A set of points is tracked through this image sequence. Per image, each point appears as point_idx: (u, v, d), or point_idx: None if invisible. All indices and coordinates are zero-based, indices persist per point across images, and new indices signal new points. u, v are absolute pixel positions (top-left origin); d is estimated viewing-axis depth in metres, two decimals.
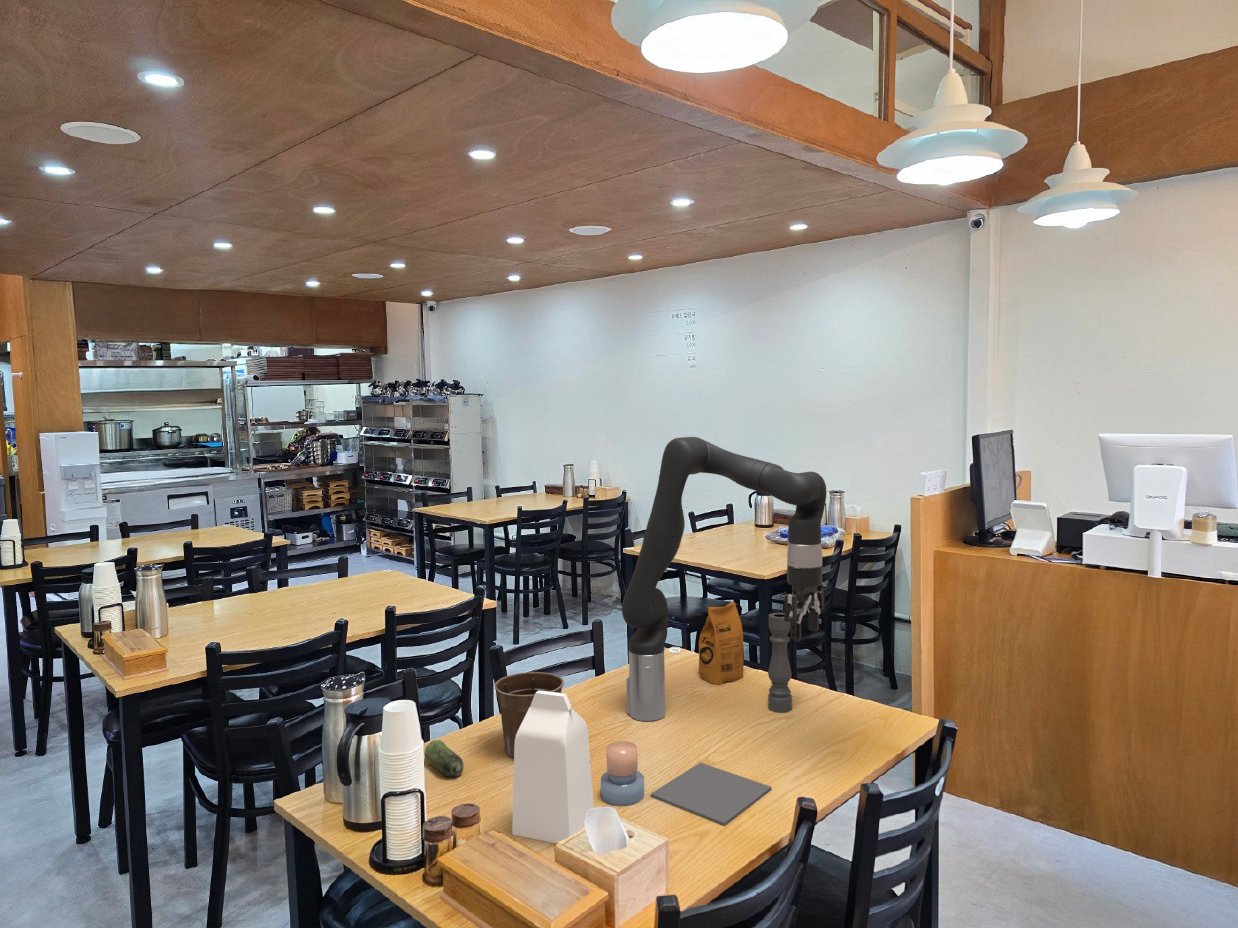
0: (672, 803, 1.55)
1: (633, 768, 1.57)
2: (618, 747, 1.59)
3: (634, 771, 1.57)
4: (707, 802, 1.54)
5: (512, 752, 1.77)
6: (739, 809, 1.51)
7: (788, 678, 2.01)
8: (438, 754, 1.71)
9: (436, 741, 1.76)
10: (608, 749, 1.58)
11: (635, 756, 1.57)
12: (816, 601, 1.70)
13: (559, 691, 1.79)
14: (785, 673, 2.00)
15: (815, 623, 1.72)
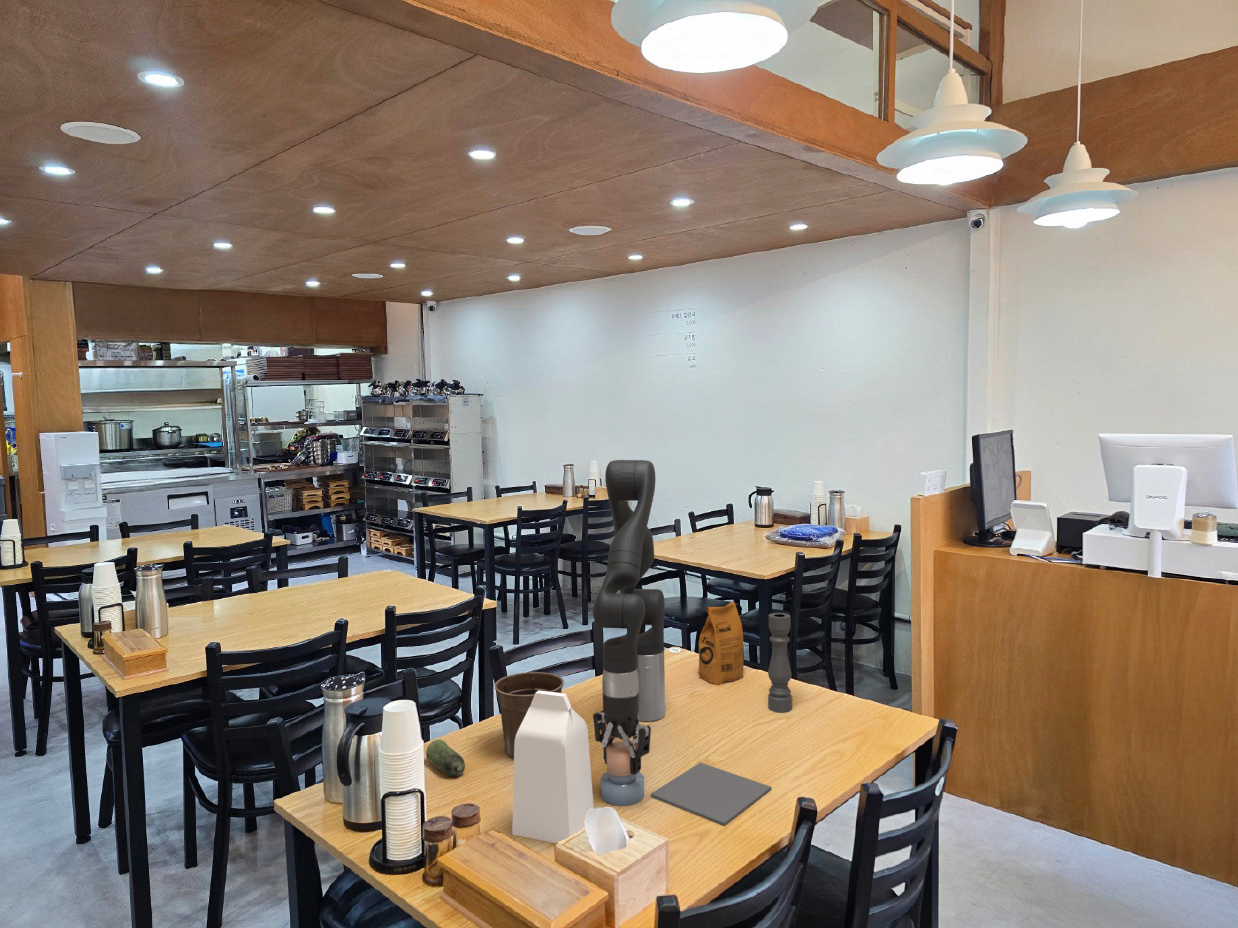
0: (672, 803, 1.55)
1: None
2: (618, 747, 1.59)
3: None
4: (707, 802, 1.54)
5: (512, 752, 1.77)
6: (739, 809, 1.51)
7: (788, 678, 2.01)
8: (440, 753, 1.71)
9: (438, 741, 1.76)
10: (608, 749, 1.58)
11: None
12: None
13: (559, 691, 1.79)
14: (785, 673, 2.00)
15: None
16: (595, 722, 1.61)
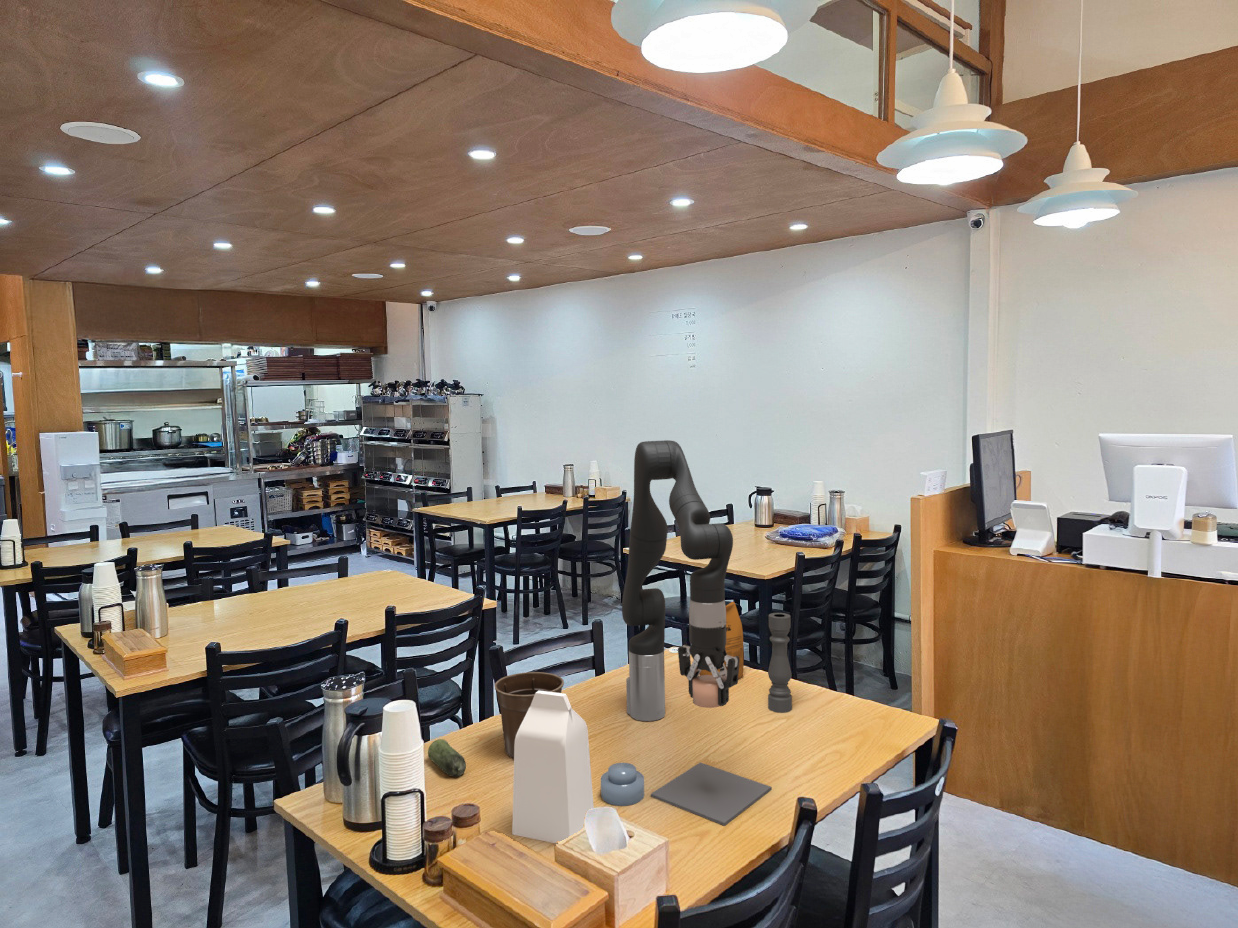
0: (672, 803, 1.55)
1: None
2: (705, 680, 1.58)
3: None
4: (707, 802, 1.54)
5: (512, 752, 1.77)
6: (739, 809, 1.51)
7: (788, 678, 2.01)
8: (441, 753, 1.71)
9: (439, 740, 1.76)
10: (695, 681, 1.57)
11: None
12: None
13: (559, 691, 1.79)
14: (785, 673, 2.00)
15: None
16: (680, 655, 1.60)
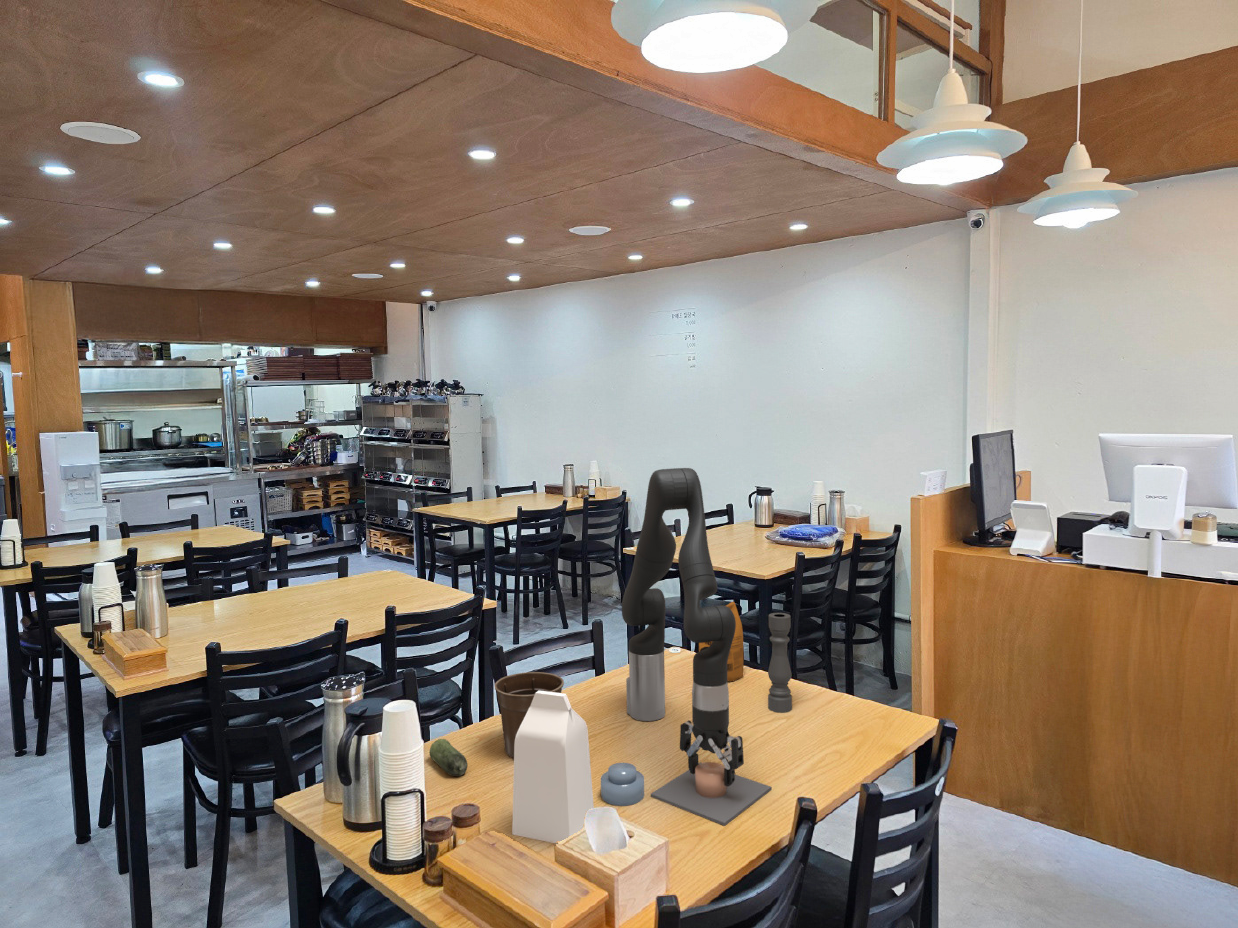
0: (672, 803, 1.55)
1: (723, 789, 1.57)
2: (707, 769, 1.59)
3: (724, 792, 1.57)
4: (707, 802, 1.54)
5: (512, 752, 1.77)
6: (739, 809, 1.51)
7: (788, 678, 2.01)
8: (442, 753, 1.71)
9: (441, 740, 1.76)
10: (697, 770, 1.58)
11: None
12: None
13: (559, 691, 1.79)
14: (785, 673, 2.00)
15: (697, 763, 1.62)
16: (682, 732, 1.62)
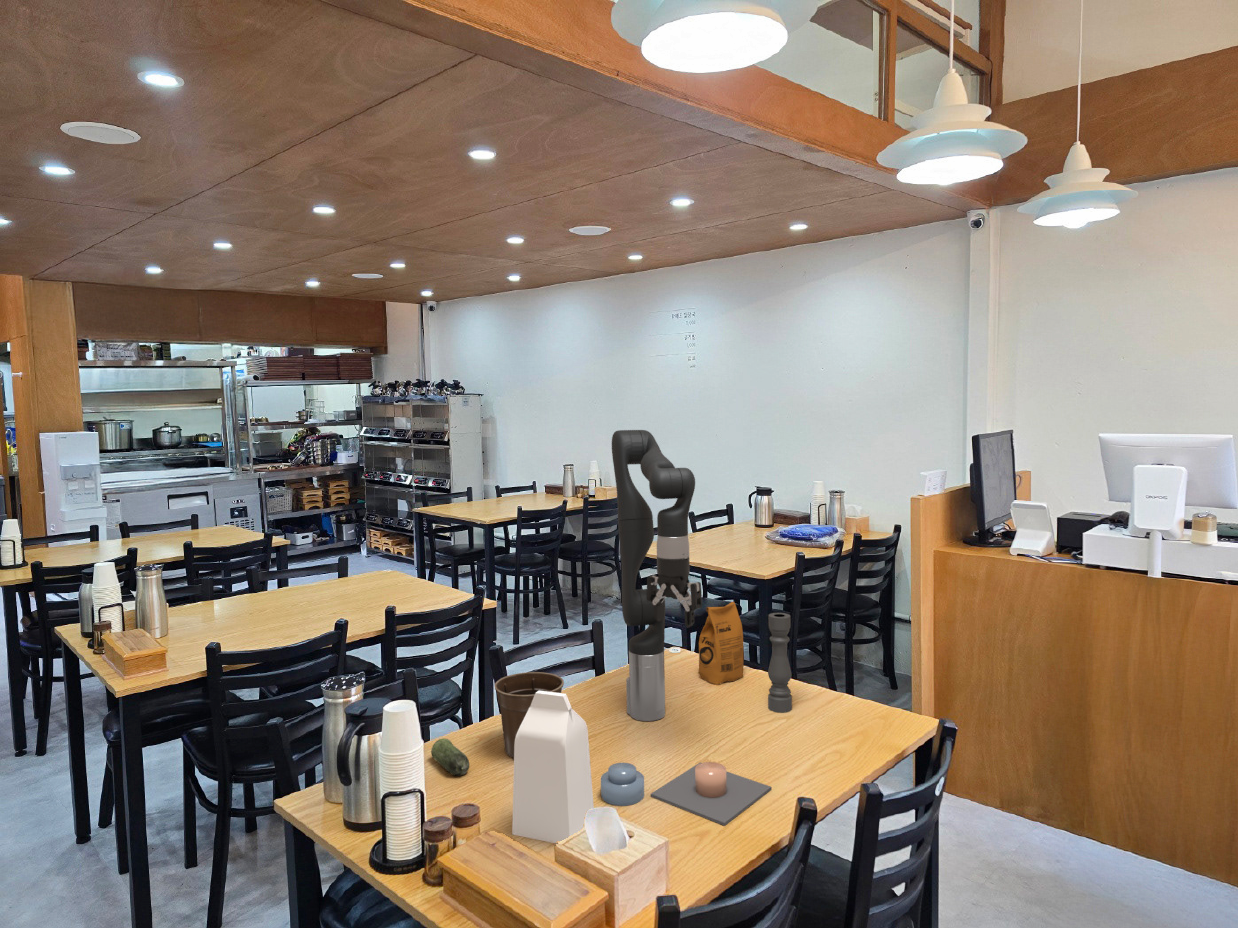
0: (672, 803, 1.55)
1: (723, 789, 1.57)
2: (707, 768, 1.59)
3: (724, 792, 1.57)
4: (707, 802, 1.54)
5: (512, 752, 1.77)
6: (739, 809, 1.51)
7: (788, 678, 2.01)
8: (444, 752, 1.71)
9: (443, 739, 1.77)
10: (697, 770, 1.58)
11: (725, 777, 1.58)
12: None
13: (559, 691, 1.79)
14: (785, 673, 2.00)
15: (662, 612, 1.81)
16: (648, 584, 1.81)
